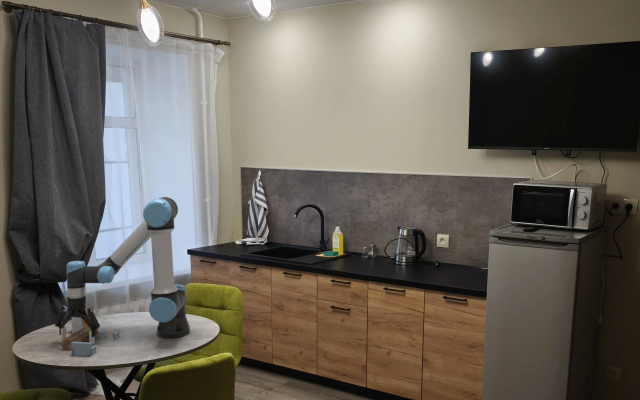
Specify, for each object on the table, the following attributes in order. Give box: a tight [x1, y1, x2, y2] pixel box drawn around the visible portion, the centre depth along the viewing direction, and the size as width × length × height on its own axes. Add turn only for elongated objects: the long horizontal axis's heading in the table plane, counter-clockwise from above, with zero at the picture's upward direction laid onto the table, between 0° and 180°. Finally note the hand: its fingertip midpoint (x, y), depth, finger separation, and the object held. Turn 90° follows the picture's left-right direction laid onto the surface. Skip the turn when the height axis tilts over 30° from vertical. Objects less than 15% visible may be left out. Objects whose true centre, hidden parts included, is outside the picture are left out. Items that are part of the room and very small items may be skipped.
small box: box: [71, 311, 91, 334], centre depth 266 cm, size 8×6×10 cm
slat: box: [61, 325, 99, 352], centre depth 251 cm, size 4×22×5 cm, turn 172°
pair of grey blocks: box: [97, 329, 120, 341], centre depth 256 cm, size 8×4×3 cm, turn 81°
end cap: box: [71, 341, 97, 357], centre depth 236 cm, size 8×5×6 cm, turn 81°
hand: (77, 343), depth 249 cm, fingers open, 13 cm apart
